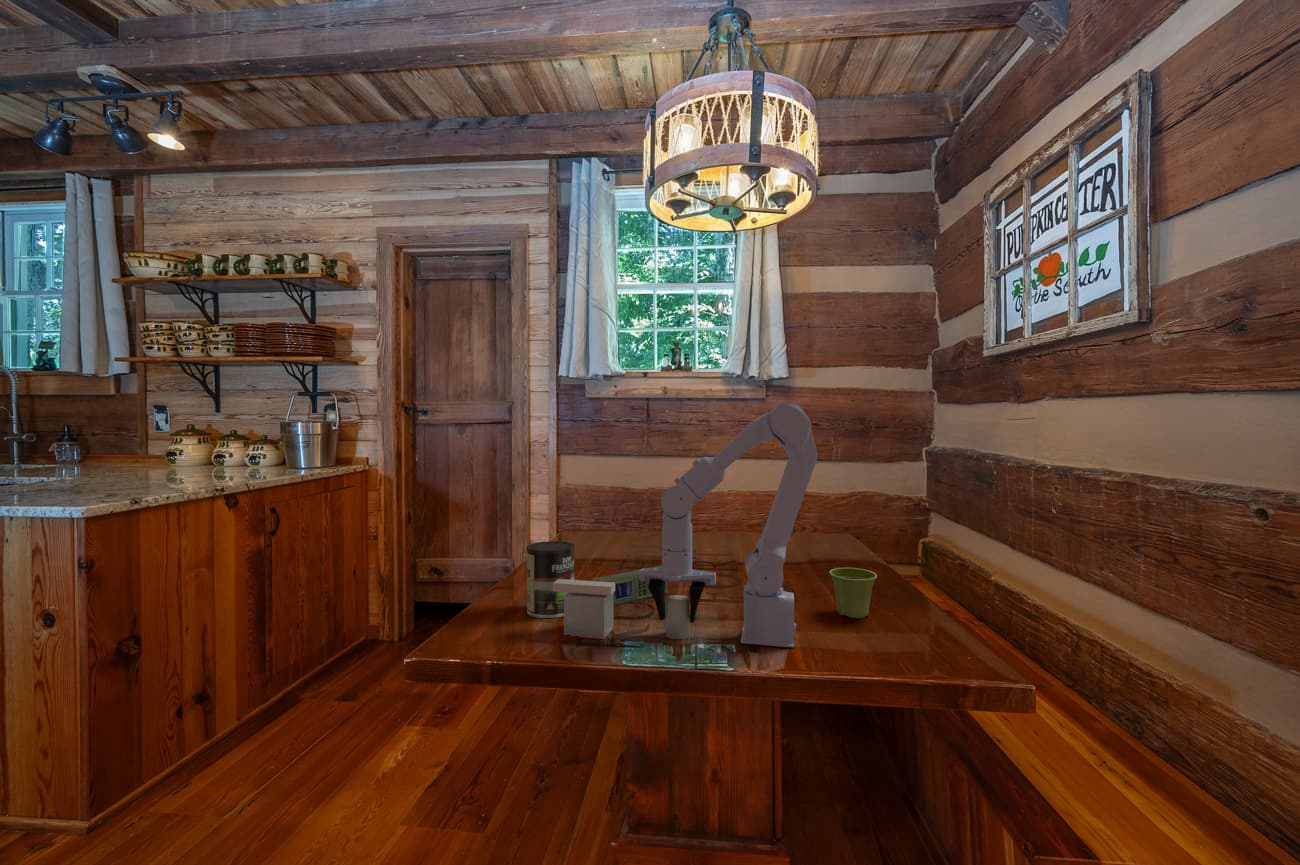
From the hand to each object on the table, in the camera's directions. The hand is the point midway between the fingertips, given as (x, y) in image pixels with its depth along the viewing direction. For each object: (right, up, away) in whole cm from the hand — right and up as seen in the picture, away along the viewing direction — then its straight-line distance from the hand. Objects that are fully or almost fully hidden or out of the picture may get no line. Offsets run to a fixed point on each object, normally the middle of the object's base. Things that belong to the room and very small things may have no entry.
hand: (677, 619), depth 107 cm
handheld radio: (-11, -3, +21) cm, 24 cm away
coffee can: (-27, -3, +14) cm, 30 cm away
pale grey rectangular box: (-18, +5, +2) cm, 19 cm away
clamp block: (-17, -3, +2) cm, 17 cm away
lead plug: (0, -3, 0) cm, 3 cm away
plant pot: (+38, -3, +12) cm, 40 cm away
